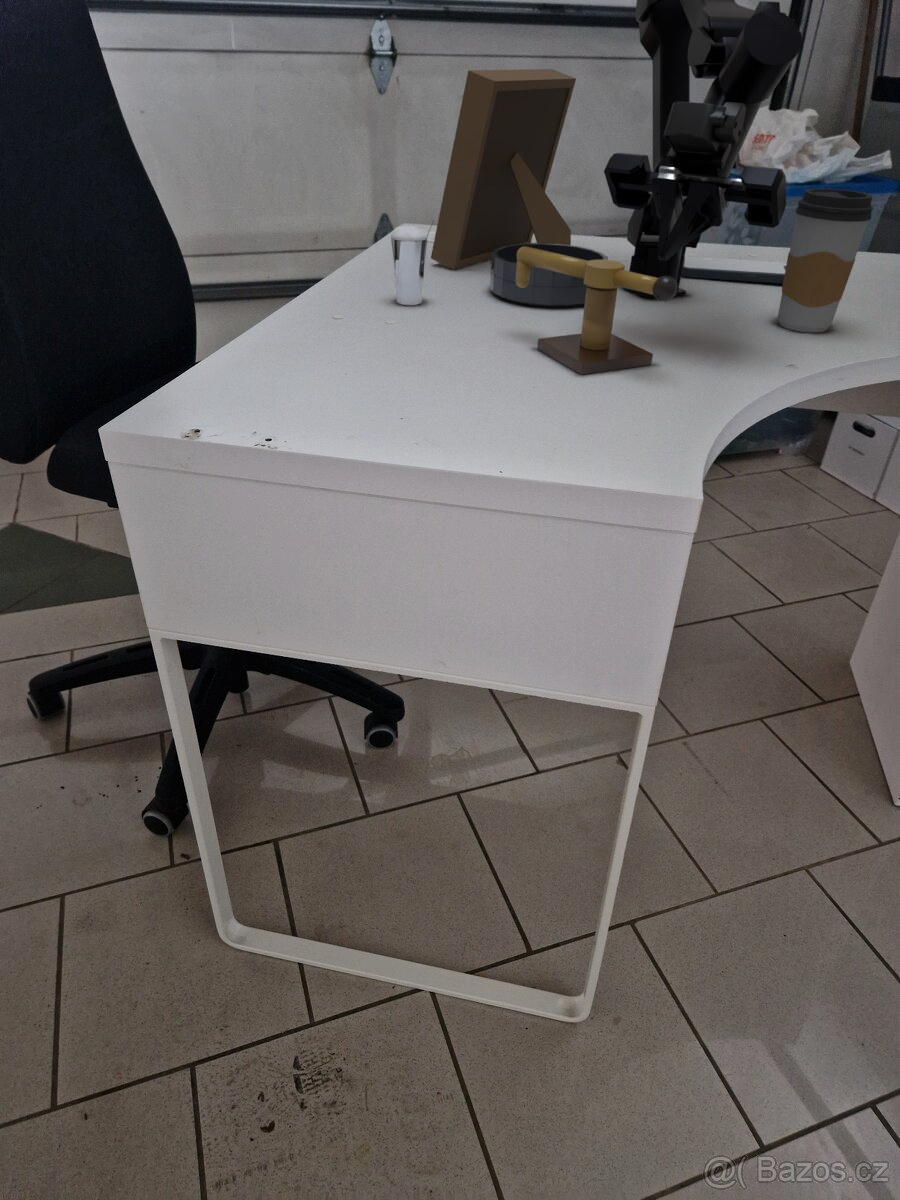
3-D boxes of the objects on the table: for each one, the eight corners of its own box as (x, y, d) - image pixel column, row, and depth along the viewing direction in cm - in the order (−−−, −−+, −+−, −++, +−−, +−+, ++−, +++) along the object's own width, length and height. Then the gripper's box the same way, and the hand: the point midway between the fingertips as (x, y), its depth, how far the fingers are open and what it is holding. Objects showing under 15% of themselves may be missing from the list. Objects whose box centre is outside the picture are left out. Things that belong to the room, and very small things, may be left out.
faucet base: (604, 340, 96) (613, 273, 92) (651, 364, 89) (663, 293, 85) (537, 349, 93) (543, 280, 88) (581, 374, 86) (589, 301, 82)
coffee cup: (837, 321, 106) (874, 191, 97) (840, 339, 99) (880, 201, 91) (769, 313, 108) (800, 185, 99) (767, 330, 101) (800, 195, 93)
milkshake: (428, 308, 105) (429, 223, 99) (387, 305, 106) (386, 220, 100) (436, 299, 109) (437, 216, 103) (396, 296, 109) (396, 214, 104)
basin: (563, 276, 121) (567, 240, 118) (624, 303, 110) (630, 263, 107) (471, 285, 115) (472, 247, 113) (525, 313, 104) (528, 272, 101)
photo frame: (430, 265, 125) (433, 68, 110) (508, 243, 139) (519, 67, 125) (513, 282, 118) (528, 74, 104) (586, 257, 132) (607, 72, 118)
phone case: (678, 279, 123) (791, 286, 120) (680, 267, 122) (794, 275, 119) (680, 266, 130) (787, 273, 127) (682, 255, 129) (789, 262, 126)
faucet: (679, 323, 84) (688, 275, 81) (657, 330, 82) (665, 281, 79) (527, 283, 96) (531, 240, 93) (504, 288, 94) (507, 244, 91)
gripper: (624, 63, 85) (562, 193, 84) (809, 72, 77) (744, 217, 75) (643, 145, 95) (588, 262, 94) (808, 160, 87) (751, 290, 85)
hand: (661, 257), depth 87 cm, fingers closed
